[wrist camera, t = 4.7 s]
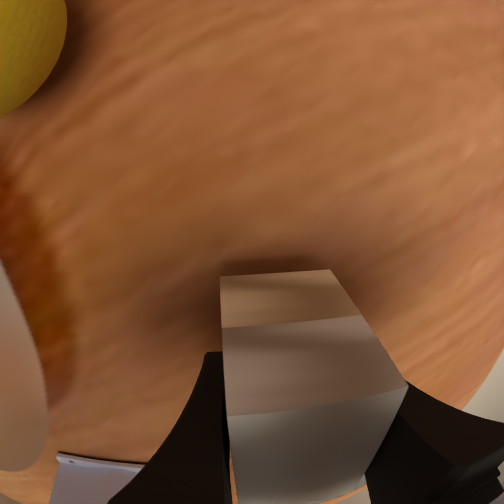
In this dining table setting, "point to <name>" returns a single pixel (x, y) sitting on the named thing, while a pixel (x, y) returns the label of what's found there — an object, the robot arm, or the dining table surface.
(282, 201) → the dining table surface
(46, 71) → the lemon
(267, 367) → the block
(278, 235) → the dining table surface
